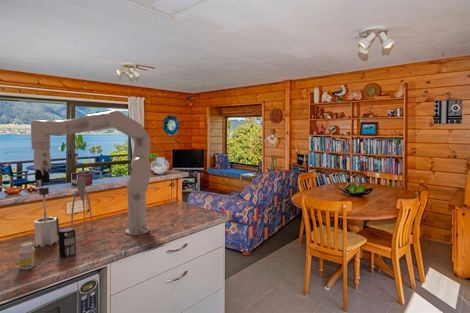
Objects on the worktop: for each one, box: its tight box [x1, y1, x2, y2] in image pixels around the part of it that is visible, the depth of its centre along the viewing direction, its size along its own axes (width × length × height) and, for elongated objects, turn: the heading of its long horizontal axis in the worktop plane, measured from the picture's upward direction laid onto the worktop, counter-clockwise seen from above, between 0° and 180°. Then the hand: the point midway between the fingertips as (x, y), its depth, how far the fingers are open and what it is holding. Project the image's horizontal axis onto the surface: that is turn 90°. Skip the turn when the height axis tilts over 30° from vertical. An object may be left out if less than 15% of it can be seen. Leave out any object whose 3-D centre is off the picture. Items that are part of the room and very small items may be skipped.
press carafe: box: [33, 216, 60, 248], centre depth 144 cm, size 12×9×12 cm
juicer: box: [70, 176, 93, 230], centre depth 165 cm, size 10×9×30 cm
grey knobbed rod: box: [38, 186, 52, 222], centre depth 142 cm, size 6×6×18 cm
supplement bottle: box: [18, 241, 37, 270], centre depth 119 cm, size 5×5×10 cm
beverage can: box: [57, 226, 77, 258], centre depth 130 cm, size 7×7×12 cm
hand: (42, 181), depth 140 cm, fingers open, 9 cm apart
